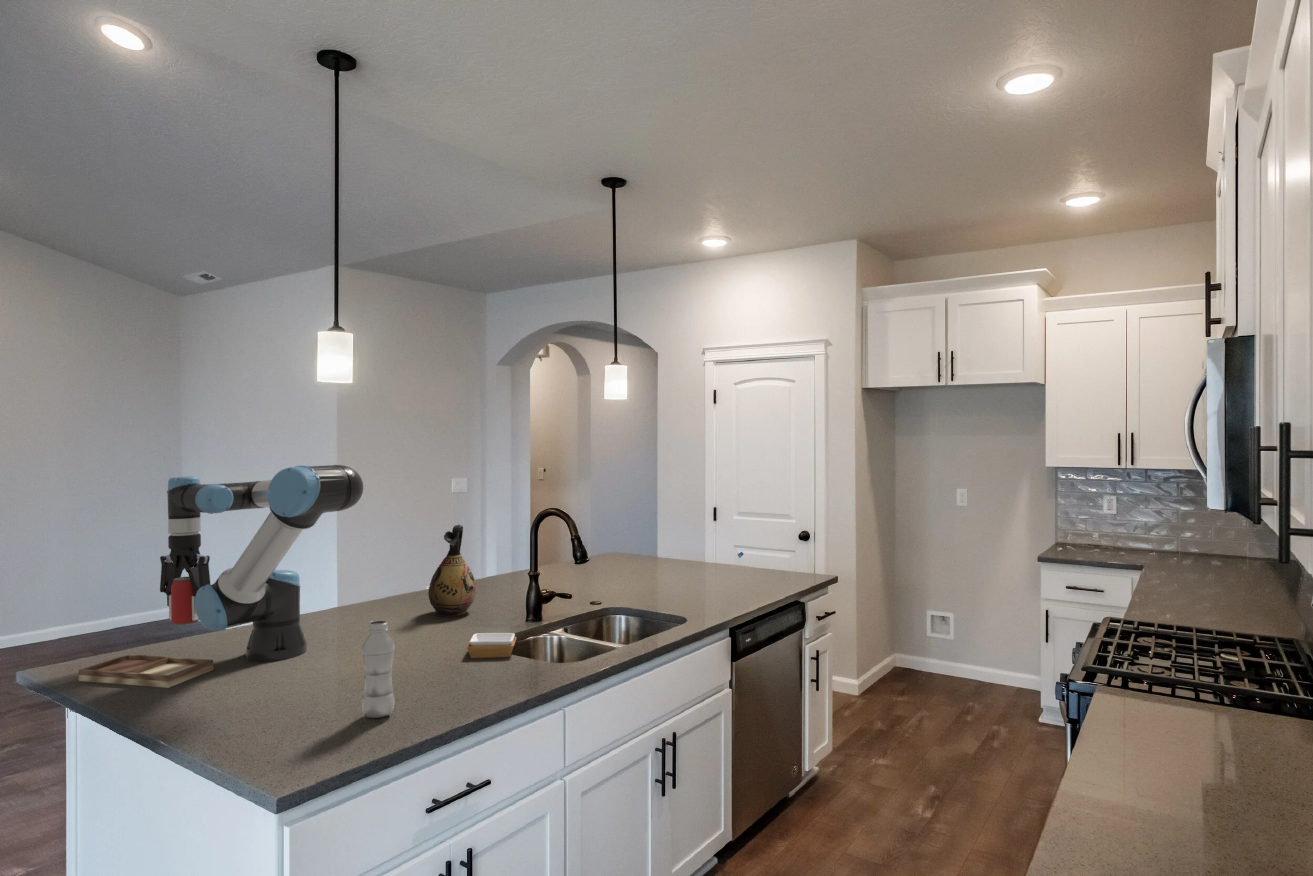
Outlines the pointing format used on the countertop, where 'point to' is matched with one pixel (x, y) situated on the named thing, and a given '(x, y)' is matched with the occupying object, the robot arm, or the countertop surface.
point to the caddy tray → (146, 670)
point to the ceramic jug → (452, 580)
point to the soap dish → (491, 645)
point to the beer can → (181, 601)
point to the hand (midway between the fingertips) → (185, 618)
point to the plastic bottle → (378, 671)
